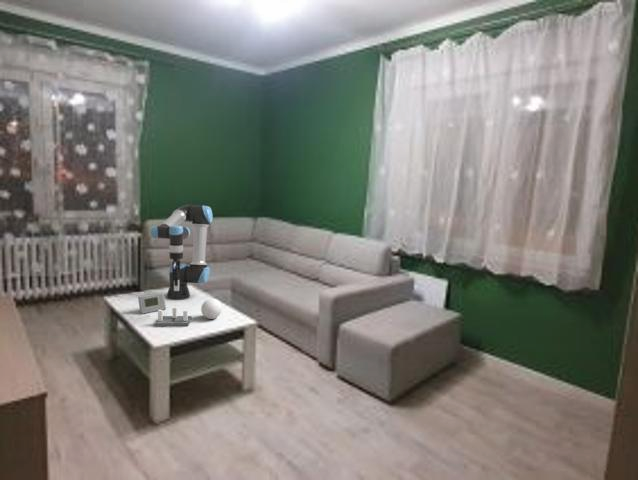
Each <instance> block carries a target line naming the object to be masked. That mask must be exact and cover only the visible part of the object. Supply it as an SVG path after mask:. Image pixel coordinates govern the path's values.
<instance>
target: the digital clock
mask: <svg viewBox="0 0 638 480" xmlns="http://www.w3.org/2000/svg"><path fill="white" fill-rule="evenodd" d="M137 299H138V305H139V312H140V314H142V315H143V314H151V313H155V312H158V310H162V311H163V310H166V309H167V305H166V297H165V293H164V292H155V293H150V294H145V295H144V294H143V295H139V296H138V298H137Z"/></svg>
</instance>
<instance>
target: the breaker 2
mask: <svg viewBox="0 0 638 480" xmlns="http://www.w3.org/2000/svg"><path fill="white" fill-rule="evenodd" d="M188 311H189V310H188V309H183V311H182V312H183V313H182V316H183V321H187V320H188V316H189V315H188V313H189V312H188Z"/></svg>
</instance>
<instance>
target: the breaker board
mask: <svg viewBox="0 0 638 480" xmlns="http://www.w3.org/2000/svg"><path fill="white" fill-rule="evenodd" d="M191 321H192V315H188V320H187V321H183V315H177V317H176V318H173V315H163V320H162V321H158V319H157V320H156V321H155V323H154V326H155V328H157V327H158V328H159V327H161V328H163V327H164V328H165V327H170V328H172V327H174V328H175V327H179V328H180V327H181V328H182V327H189V325H190V323H191Z"/></svg>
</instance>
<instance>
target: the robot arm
mask: <svg viewBox="0 0 638 480" xmlns="http://www.w3.org/2000/svg"><path fill="white" fill-rule="evenodd" d="M184 222H187V223H188V222H191V223H192V226H193V244H192V245H193V246H192V261H191V262H190V263H189V265H188V264H187V263H185V262H181V261H180V260H182V259H183V258H184V240H186V239H188V238H189V237H190V235H191V231H190V230H191V229H190V228H189V227H187V226H184V225H183V226H182V225H180V224H182V223H184ZM212 222H213V211H212V208H211V207H210V206H208V205H194V204H193V205H192V204H186V205H183V206H180V207H178V208H176V209H175V210H173V212H172V213H171V215H170V216H169V217H168V218H167V219H165V220H164V221H163V222H162V223H161V224H159V225H152V227H151V228H150V236H151V238H153V239H161V240H162V239H163V240H164V239H166V240H169V246H168V249H169V259H170V260H173V261H172V264H171V265H170V266H169V270H168V272H169V287H168V290H167V293H166V298H167V299H169V300H174V301H175V300H185V299H188V298H189V297H190V296H191V295H190V294H191V293H190V292H191V291H190V290H189V287H188V284H206V283H207V281H208V280H209V277H210V272H211V271H210V267H209V266H208V263H207V262H206V254H207V253H206V249H207V236H208V233H207V232H208V227H210V224H211V223H212Z"/></svg>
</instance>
